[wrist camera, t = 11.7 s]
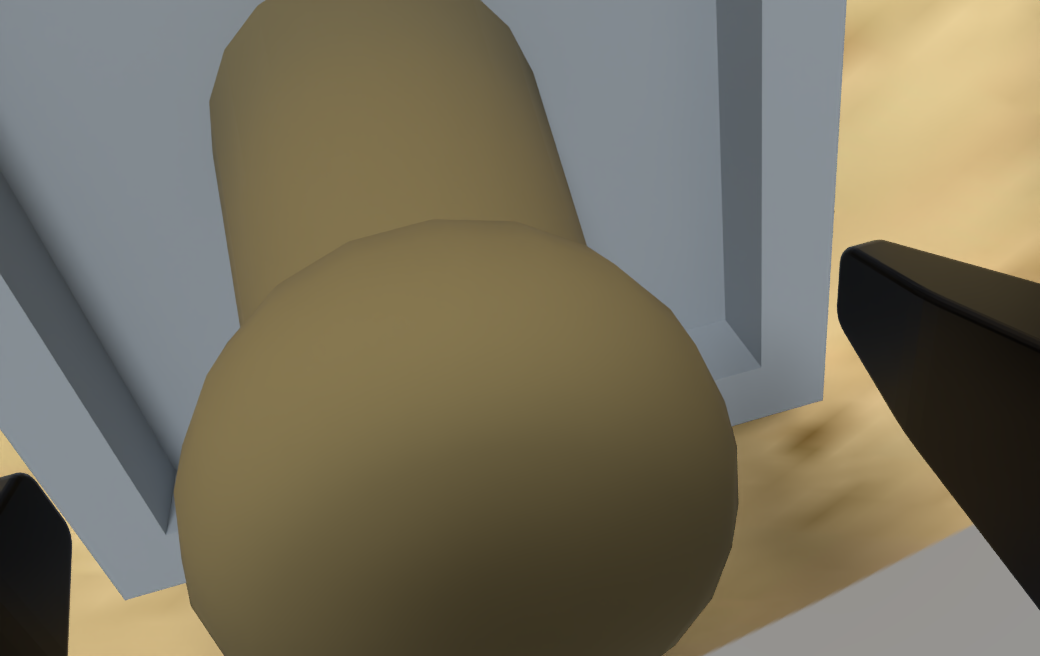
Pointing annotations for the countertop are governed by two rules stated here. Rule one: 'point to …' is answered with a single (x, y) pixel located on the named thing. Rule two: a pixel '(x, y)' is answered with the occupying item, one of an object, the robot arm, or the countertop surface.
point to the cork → (433, 367)
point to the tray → (203, 247)
